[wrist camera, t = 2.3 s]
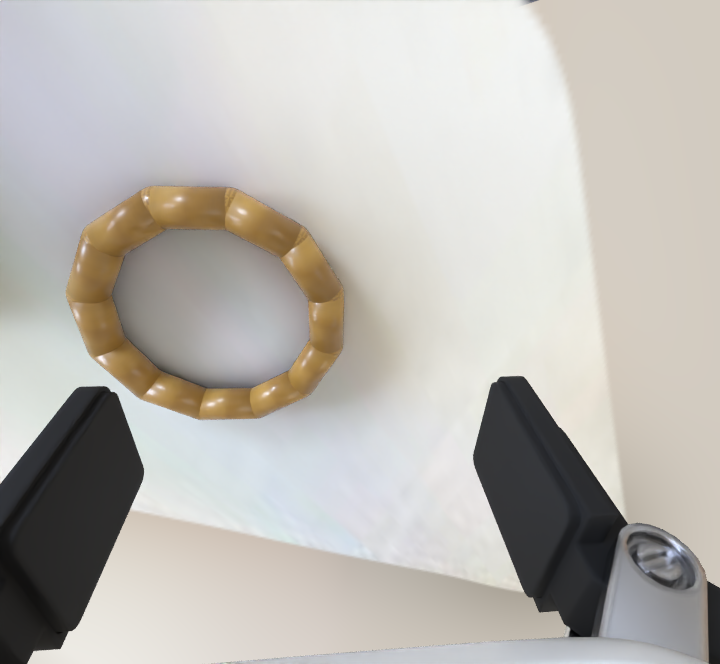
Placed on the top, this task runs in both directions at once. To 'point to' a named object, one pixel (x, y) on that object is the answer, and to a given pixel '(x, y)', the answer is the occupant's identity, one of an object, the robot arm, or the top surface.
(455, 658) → the robot arm
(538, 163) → the top surface
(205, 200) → the ring
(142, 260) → the top surface
